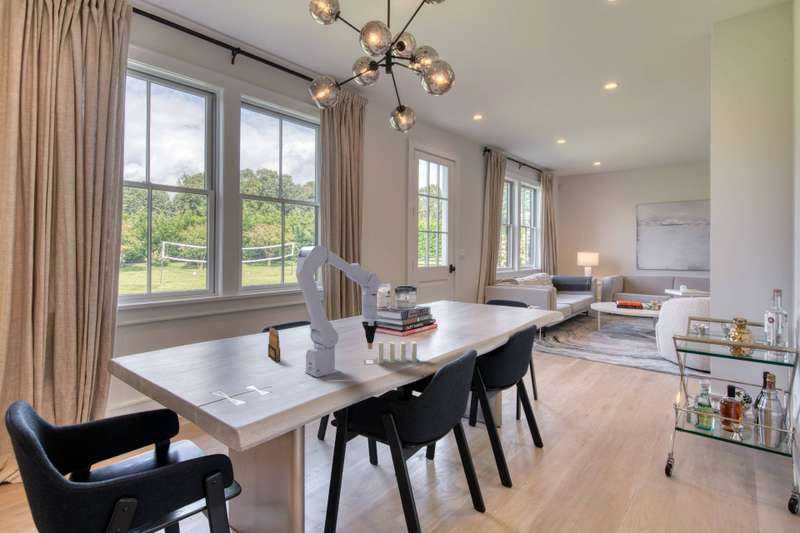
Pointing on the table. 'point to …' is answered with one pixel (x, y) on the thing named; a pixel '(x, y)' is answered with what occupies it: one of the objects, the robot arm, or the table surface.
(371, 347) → the domino placed
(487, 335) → the table surface
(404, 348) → the domino
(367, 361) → the mat
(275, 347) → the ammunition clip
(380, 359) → the domino
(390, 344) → the domino
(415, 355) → the domino
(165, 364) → the table surface
